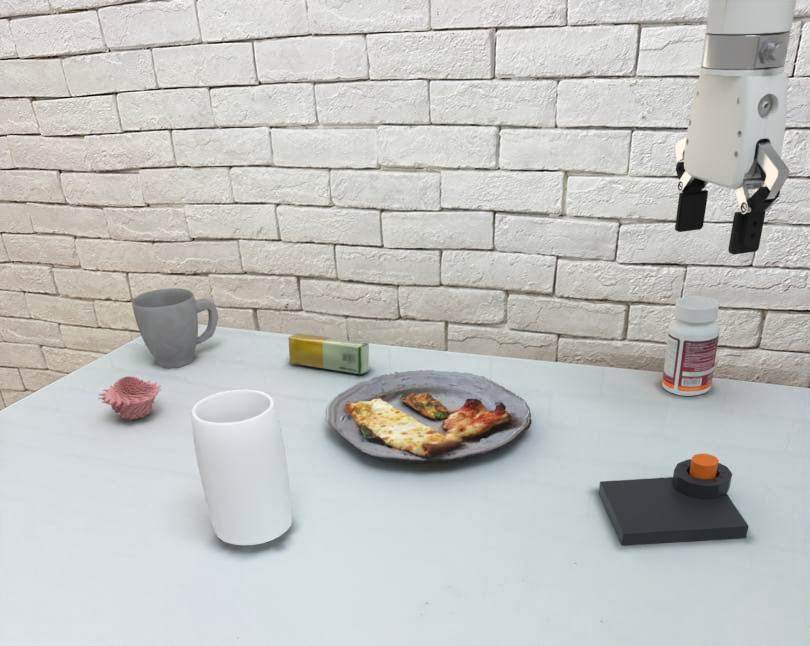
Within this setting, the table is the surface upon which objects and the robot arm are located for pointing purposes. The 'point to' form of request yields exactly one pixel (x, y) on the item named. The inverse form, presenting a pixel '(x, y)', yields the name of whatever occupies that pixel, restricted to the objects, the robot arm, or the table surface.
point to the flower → (131, 397)
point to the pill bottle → (691, 346)
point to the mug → (172, 324)
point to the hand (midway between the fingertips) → (714, 240)
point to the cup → (242, 466)
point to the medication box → (329, 353)
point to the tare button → (703, 466)
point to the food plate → (428, 416)
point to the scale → (673, 508)
